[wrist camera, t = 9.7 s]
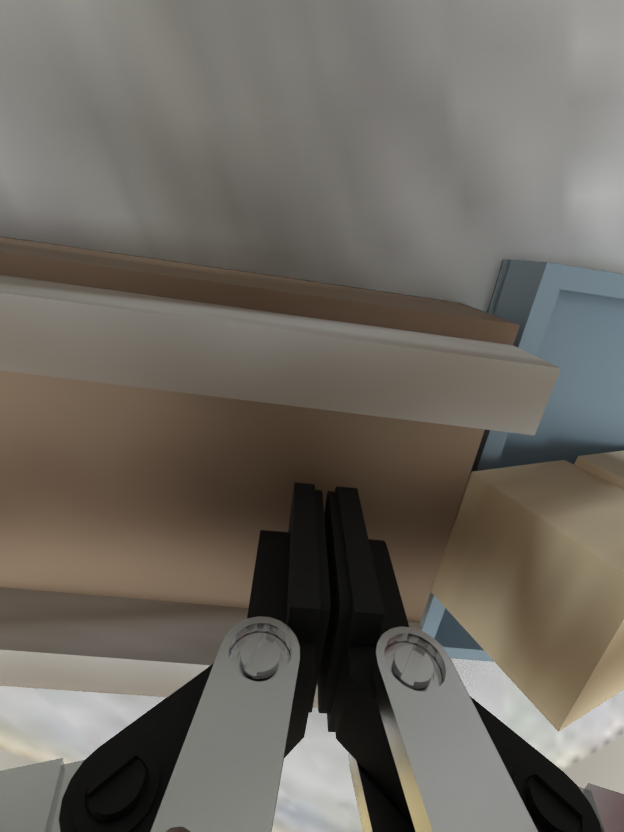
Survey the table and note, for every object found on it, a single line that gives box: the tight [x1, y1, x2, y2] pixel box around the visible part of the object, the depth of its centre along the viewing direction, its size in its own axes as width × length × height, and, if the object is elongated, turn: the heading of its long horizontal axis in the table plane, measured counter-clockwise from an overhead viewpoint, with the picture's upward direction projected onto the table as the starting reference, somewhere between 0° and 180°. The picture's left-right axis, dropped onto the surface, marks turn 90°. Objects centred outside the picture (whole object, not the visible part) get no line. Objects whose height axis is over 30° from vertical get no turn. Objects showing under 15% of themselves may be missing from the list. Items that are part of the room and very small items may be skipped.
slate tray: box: [420, 259, 624, 662], centre depth 15 cm, size 15×13×2 cm
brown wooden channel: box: [0, 237, 561, 708], centre depth 12 cm, size 12×22×6 cm, turn 82°
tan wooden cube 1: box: [431, 460, 624, 731], centre depth 11 cm, size 4×4×4 cm
